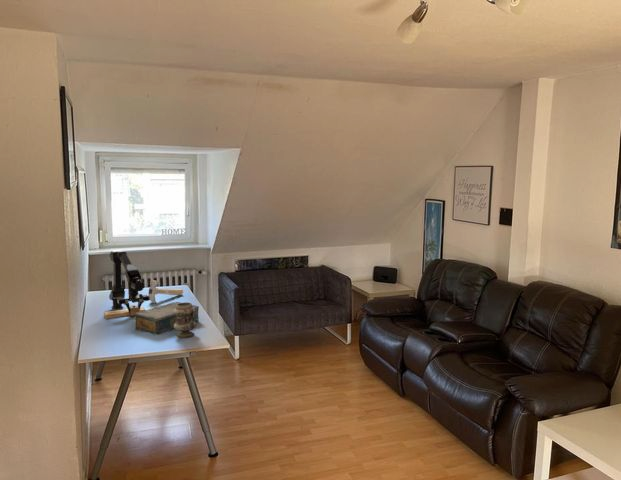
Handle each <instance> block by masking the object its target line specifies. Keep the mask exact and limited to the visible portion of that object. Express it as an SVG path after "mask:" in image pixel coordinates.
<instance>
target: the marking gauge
mask: <svg viewBox="0 0 621 480" xmlns="http://www.w3.org/2000/svg"><path fill="white" fill-rule="evenodd" d="M129 306H130V313H129V314H130V315H129V316H130V317H133V316H134V317H135V313H137V312H139V307H138V305H135V304H134V305H133V304H130V305H129Z"/></svg>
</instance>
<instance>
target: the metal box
mask: <svg viewBox="0 0 621 480" xmlns="http://www.w3.org/2000/svg"><path fill="white" fill-rule="evenodd" d="M178 303H182V302H181V301H174V302H169V303H167V304H164V305H160V306H155V307H153V308H149V309H145V311H140V312H137V313H135V315H134V328H135V330H138V331H141V332H146V333H150V334H153V335H156V336H157V335H162V334H164V333H167V332H170V331H172V330H176V329H175V328H174V324H175V323H176V315H175V314H174V313H173V311H174V309H175V308H176V304H178ZM192 307H194V308H195V312H194V313H193V320H194V322H195V323H197V321H198V322H199V321H200V320H199V319H200V318H199V307H200V306H198V305H195V304H194V305H193V304H192Z"/></svg>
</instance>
